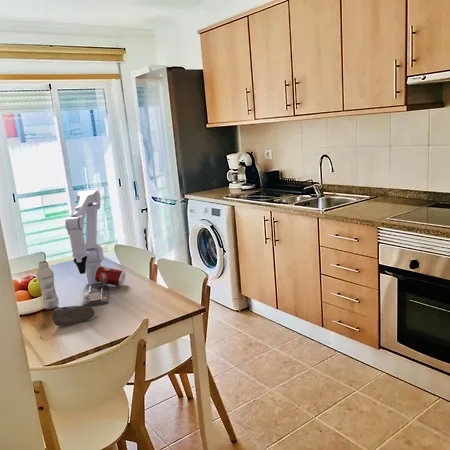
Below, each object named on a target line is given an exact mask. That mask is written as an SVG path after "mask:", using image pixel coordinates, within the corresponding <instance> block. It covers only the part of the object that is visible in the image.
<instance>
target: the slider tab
mask: <svg viewBox="0 0 450 450" xmlns="http://www.w3.org/2000/svg"><path fill="white" fill-rule="evenodd" d="M89 298H90V301H96V300H100V293H99V290H97V291H90V292H89Z"/></svg>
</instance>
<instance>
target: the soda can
mask: <svg viewBox="0 0 450 450" xmlns="http://www.w3.org/2000/svg"><path fill="white" fill-rule="evenodd" d="M95 280H96V281H97V282H100V283H99V284H101V283H105V284H108V285H109V286H114V287H122V286H123V285H124V283H125V280H126V272H125V271H124V270H121V269H117V268H111V267H106V266H102V265H101V266H100V267H98V268H97V270H96V273H95Z"/></svg>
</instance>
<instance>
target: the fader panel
mask: <svg viewBox="0 0 450 450" xmlns="http://www.w3.org/2000/svg"><path fill="white" fill-rule="evenodd" d="M97 290H99V293H100V300H96V301H90V298H89V292H90V291H97ZM102 305H109V284H105V283H96V284H90V285H85V286H84V294H83V300H82V305H81V306H88V307H91V308H92V307H97V306H102Z"/></svg>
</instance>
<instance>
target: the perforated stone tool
mask: <svg viewBox="0 0 450 450" xmlns="http://www.w3.org/2000/svg"><path fill="white" fill-rule="evenodd" d="M95 314H96V312H95V310H94V308H92V307H88V306H83V305H69V306H63V307H56V308H54V309H53V311H52V313H51V316H52V322H53V324H54V325H55V326H56V327H65V326H71V325H72V326H73V325H76V324H79V323H80V324H81V323H83V322H88V321H90V320H91V319H93V317H95Z"/></svg>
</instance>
